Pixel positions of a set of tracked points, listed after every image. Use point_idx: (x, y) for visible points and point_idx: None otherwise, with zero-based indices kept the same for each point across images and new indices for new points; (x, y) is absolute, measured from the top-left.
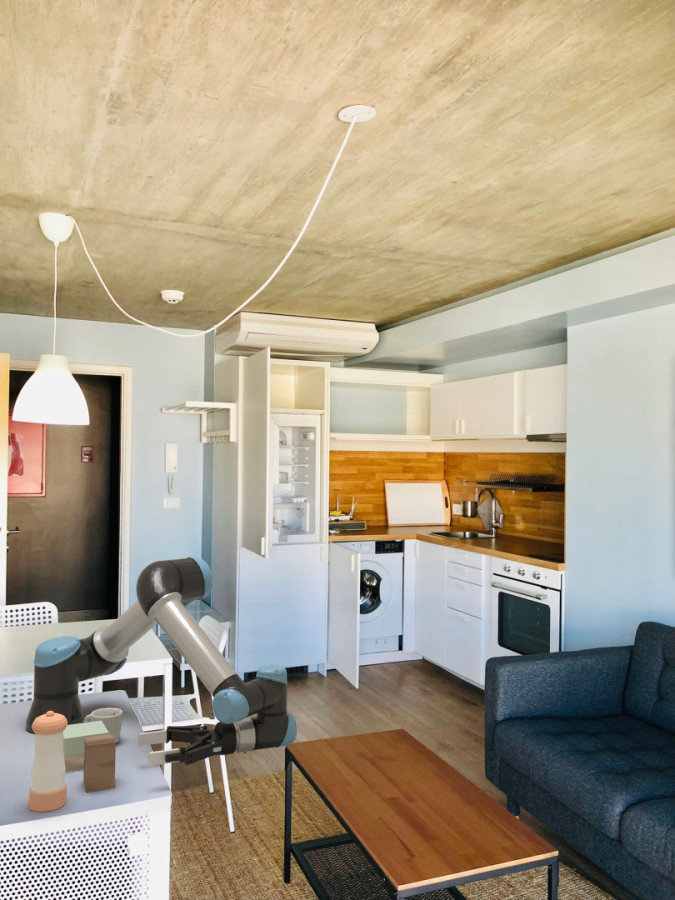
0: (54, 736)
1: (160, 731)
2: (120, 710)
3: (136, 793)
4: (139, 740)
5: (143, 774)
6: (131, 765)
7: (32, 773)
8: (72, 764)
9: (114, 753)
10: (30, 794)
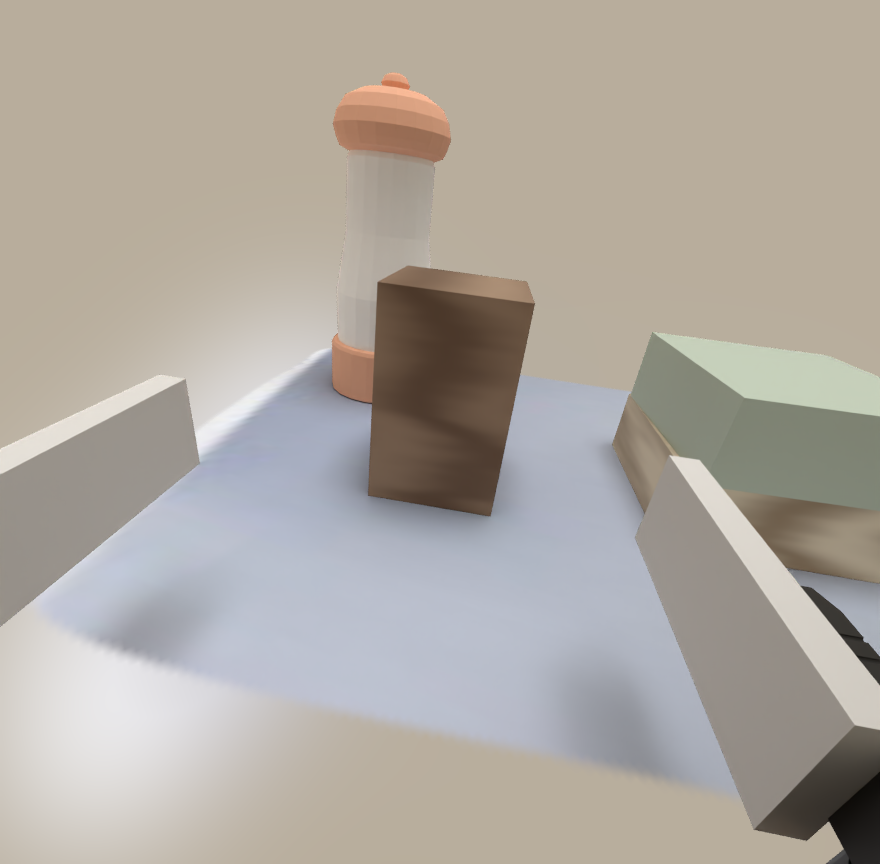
0: (347, 159)
1: (795, 624)
2: None
3: (230, 530)
4: (650, 502)
5: (464, 646)
6: (654, 641)
7: None
8: (628, 440)
9: (375, 342)
10: None
